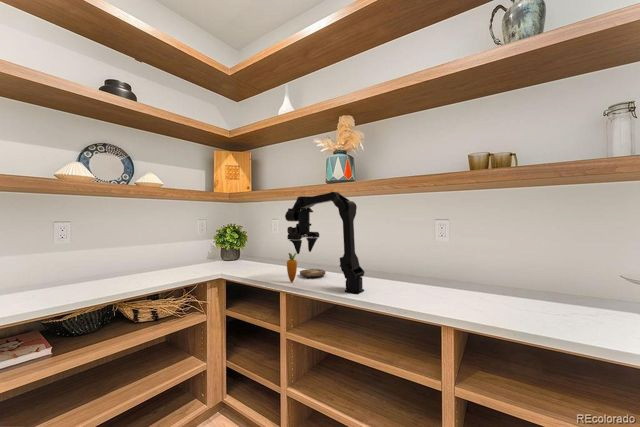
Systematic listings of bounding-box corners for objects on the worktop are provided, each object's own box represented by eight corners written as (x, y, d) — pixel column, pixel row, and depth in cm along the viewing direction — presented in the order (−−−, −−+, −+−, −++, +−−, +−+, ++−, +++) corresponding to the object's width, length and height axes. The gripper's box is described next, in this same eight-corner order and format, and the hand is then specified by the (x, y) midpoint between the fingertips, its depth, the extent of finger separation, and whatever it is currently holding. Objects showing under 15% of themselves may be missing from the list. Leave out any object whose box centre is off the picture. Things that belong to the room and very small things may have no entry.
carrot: (297, 281, 135) (297, 251, 135) (296, 283, 130) (296, 253, 130) (287, 281, 135) (287, 251, 135) (286, 283, 130) (286, 253, 130)
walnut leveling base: (330, 275, 148) (330, 270, 148) (315, 280, 137) (315, 275, 137) (310, 272, 156) (310, 267, 156) (294, 276, 145) (294, 271, 145)
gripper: (303, 221, 146) (303, 249, 146) (279, 221, 131) (279, 253, 131) (319, 221, 139) (320, 251, 139) (296, 222, 124) (296, 255, 124)
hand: (304, 252), depth 133 cm, fingers open, 9 cm apart
